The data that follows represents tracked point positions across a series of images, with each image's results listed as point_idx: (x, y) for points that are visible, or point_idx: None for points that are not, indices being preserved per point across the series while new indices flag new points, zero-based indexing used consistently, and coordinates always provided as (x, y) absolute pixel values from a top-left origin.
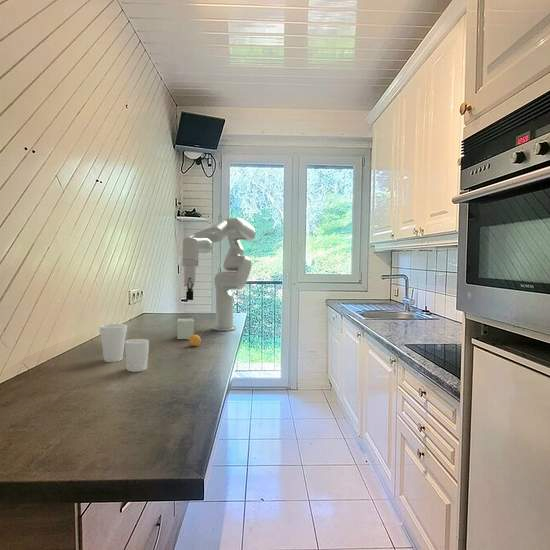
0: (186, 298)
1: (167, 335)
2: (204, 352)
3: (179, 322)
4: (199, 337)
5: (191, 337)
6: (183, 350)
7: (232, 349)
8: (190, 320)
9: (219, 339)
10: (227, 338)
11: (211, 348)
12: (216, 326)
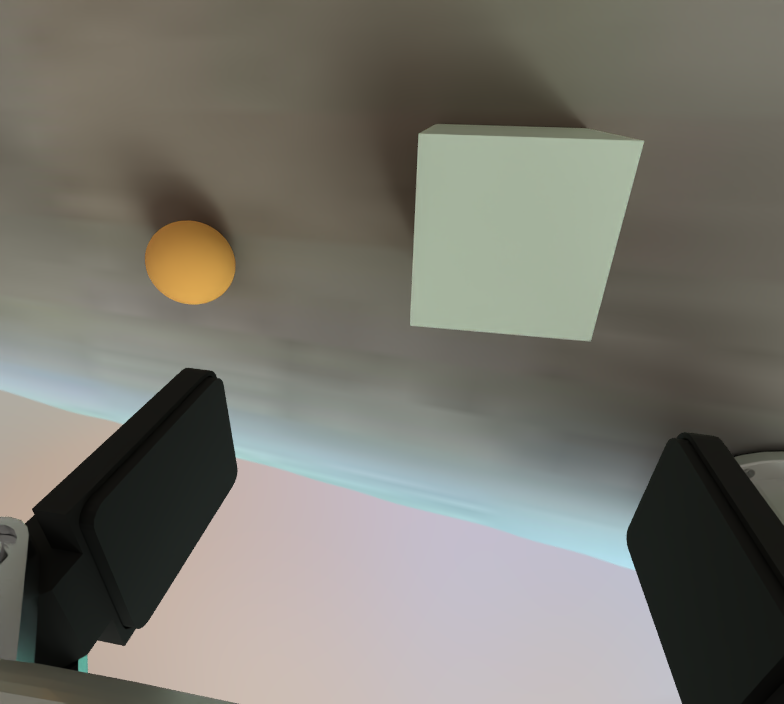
0: (173, 385)
1: (684, 9)
2: (65, 287)
3: (417, 160)
4: (172, 299)
5: (154, 242)
6: (86, 164)
7: None
8: (457, 295)
9: (396, 418)
10: (418, 462)
11: (161, 336)
12: (767, 486)
